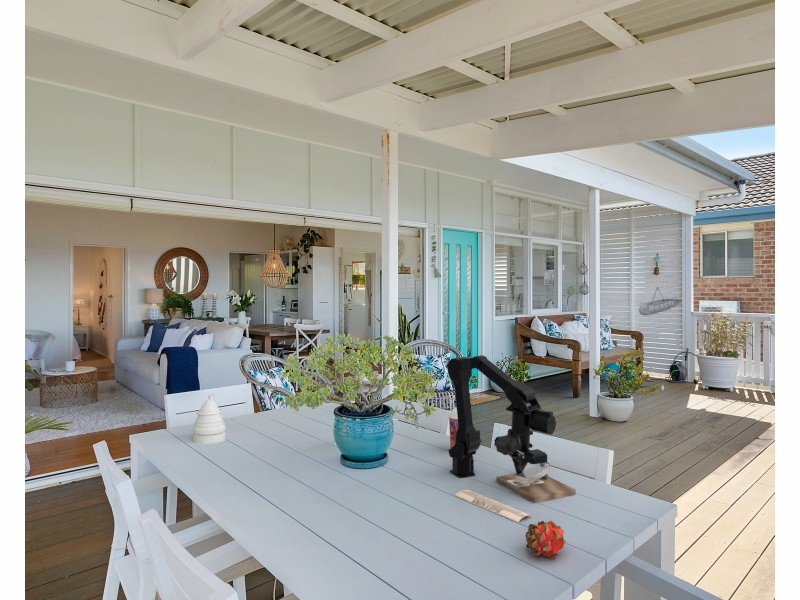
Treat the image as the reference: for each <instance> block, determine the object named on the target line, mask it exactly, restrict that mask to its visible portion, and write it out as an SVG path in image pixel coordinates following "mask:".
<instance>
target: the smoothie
mask: <svg viewBox="0 0 800 600" xmlns="http://www.w3.org/2000/svg"><path fill="white" fill-rule="evenodd" d="M448 425H449V426H448V427H449V428H448V429H449V444H450V446H449V447H450V449H451V448H452V447H453V446H454V445H455V436H456V433H457V430H458V417H457V408H456V406H455V407H454V408H452V410H451V411H450V412H449V415H448Z"/></svg>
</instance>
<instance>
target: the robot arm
mask: <svg viewBox="0 0 800 600" xmlns="http://www.w3.org/2000/svg"><path fill="white" fill-rule="evenodd" d="M446 368H447V369H446V370H447V373H448V377H449V378H450V381H451V382H452V384H453V387H454V397H455V405H456V406H455V407H456V408H457V417H458V430H457V433H456V436H455V445H454V446H453V447H452V448H450V449H449V450H448V454H449V455H448V456H449V457H450V458H452V459H451V460H452V469H450V470H449V473H451V474H453V475H454V476H455V477H457V478H459V479H460V478H466V477H473V476H476V473H475V469H474V468H475V460H474V456H473V455H476V454H477V451H478V449H479V448H480V447H481V443H482V439H481V430H477V429H476V427H475V426H474V422H473V413H472V405H471V394H470V385H469V382H470V380H471V377H472V370H474V369H476V370H478V371H479V372H480V373H481V374H483V375H484V377H486V378H487V379H489V380H490V381H491V382H493V384H495V385H496V386H497V387H498V388H500V389H501V391H503V392H504V395H505V397H506V399H507V400H508V401H509V402H510V405H508V406H507V407H506V408H505V410H506V411H508V412H511V428H508V430H507V434H506V435H500V436H496V437H495V439H494V444H493V445H494V447H495V448H496V451H497V452H498V453H500V454H502V455H503V456H509V457H510V458H511V460H512V463H513V466H514V469H515V470H514V471H515V474H517V475H518V474H520V473H522V472H524V471H525V468H526V467H527V465H528V463H529V464H530V465H537V464H539V465H540V463H545V462H548V454H547V453H546V452H545V451H543V450H541V449H538V448H536V449H531V448H533V444H532V443H531V439H530V438H531V436H532V435H534V432H537V433H541V434H545V435H549V436H551V435H553V434H554V432H555V430H556V427H557V426H556V425H557V421H556V417H555V416H554V412H553V411H552V410H545V409H542V406H541V404H540V403H539V401H538V399H537V397H536V395H535V390H534V389H533V388H532V387H531V386H529V385H527V384H525V383H523V382H521V381H519V380H516V379H514V378H512V377H511V376H509V375H508V374H507V373H506V372H504V371H503V370H502V369H500V368H499V367H498V366H497V365H495V363H493V362H492V361H491V360H489V359H488V358H487V356H485V355H482V354H481V355H480V354H479V355H476V356H473V357H469V358H468V357H466V356H461V357H454V358H451V359H449V360H448V362H447V363H446Z"/></svg>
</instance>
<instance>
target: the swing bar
mask: <svg viewBox="0 0 800 600" xmlns="http://www.w3.org/2000/svg"><path fill="white" fill-rule="evenodd" d="M549 473H550V463H549V462H548V461H547V462H545V463H540V464H534V465H533V466H532V467H530V468H528V469H526V470H525V469H524V470H523V472H522V473H520V474H518V475H516V482H518V483H522V484H526V485H529V484H531V483H533V482H534V481H536V480H538V479H540V478H541V477H543V476H545V475H547V474H548V475H549Z"/></svg>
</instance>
